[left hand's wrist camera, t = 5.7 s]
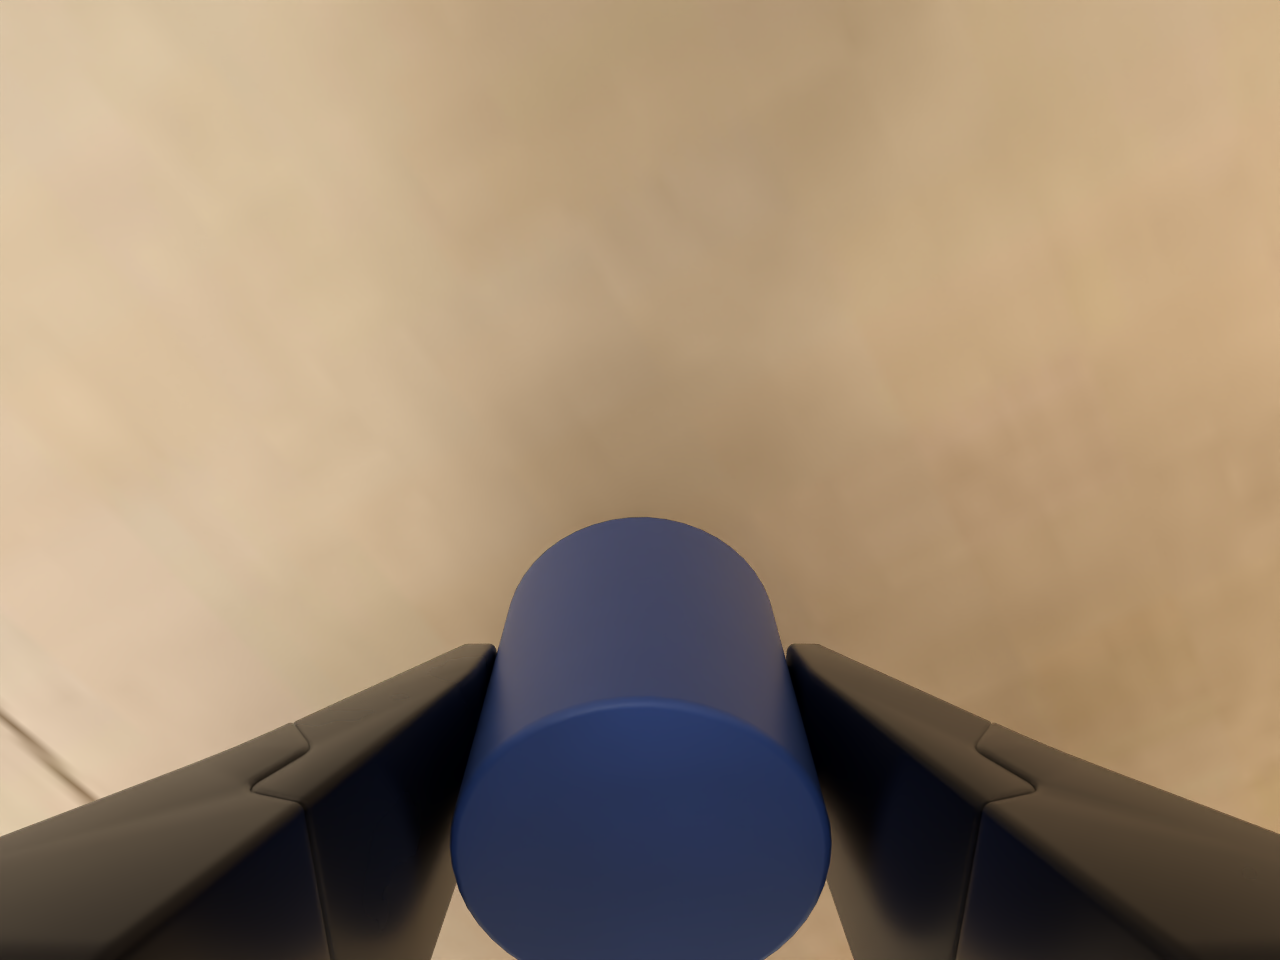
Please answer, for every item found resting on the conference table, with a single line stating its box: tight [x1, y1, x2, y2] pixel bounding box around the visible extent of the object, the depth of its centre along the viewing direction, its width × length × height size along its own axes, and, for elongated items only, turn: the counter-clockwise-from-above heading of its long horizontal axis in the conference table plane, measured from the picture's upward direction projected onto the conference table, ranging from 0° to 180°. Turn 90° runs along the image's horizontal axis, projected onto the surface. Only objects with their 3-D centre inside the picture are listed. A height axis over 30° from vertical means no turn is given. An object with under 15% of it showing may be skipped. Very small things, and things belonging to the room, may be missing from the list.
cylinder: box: [450, 517, 832, 960], centre depth 11 cm, size 4×4×4 cm
